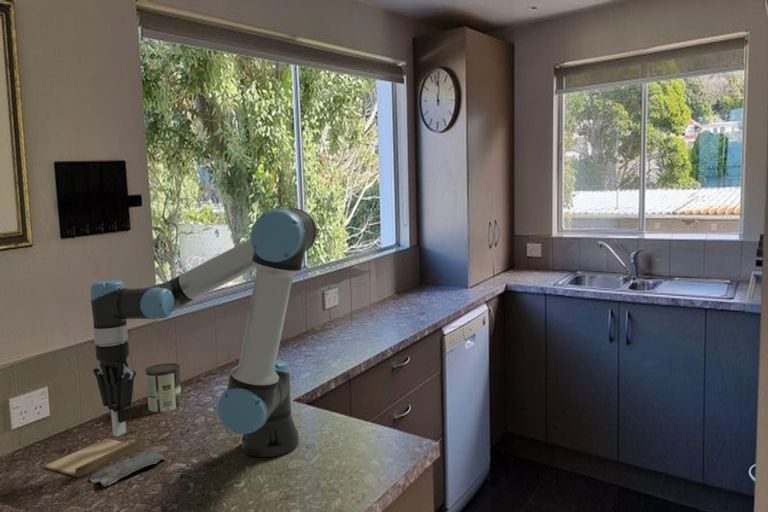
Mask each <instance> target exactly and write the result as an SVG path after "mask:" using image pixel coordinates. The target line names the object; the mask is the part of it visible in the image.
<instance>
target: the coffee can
mask: <svg viewBox="0 0 768 512" xmlns="http://www.w3.org/2000/svg"><path fill="white" fill-rule="evenodd" d="M180 366H181V365H180V364H178V363H174V362H172V363H171V362H169V363H168V362H166V363H160V364H159V363H158V364H153V365H151V366H149V367H146V368H145V370H144V371H145V372H144V373H145V378H146V393H147V407H148V411H150V412H154V413H164V412H169V411H173V410H175V409H178V408H179V407H180V406H182V402H183V401H182V389H181V373H180V372H181V370H180Z"/></svg>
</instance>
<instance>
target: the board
mask: <svg viewBox="0 0 768 512" xmlns="http://www.w3.org/2000/svg"><path fill="white" fill-rule="evenodd" d="M139 449H140V440H134V441H132V442H130V443H128V442H124V441H119V440H115V439H112V438H111V439H110V438H104V439H102V440H100V441H98V442H96V443H93V444H91V445H88V446H86V447H83V448H81V449H79V450H77V451H75V452H73V453H69V454H67V455H65V456H63V457H60V458H59V459H56V460H53V461H51V462H50V463H47V464H44V468H45V469H49V470H52V471H55V472H59V473H63V474H65V475H66V474H67V475H69V476H73V477H76V478H80V477H83V476H85V475H86V474H88V473H90V472H93V471H95V470H96V469H99V468H101V467H103V466H105V465H108V464H109V463H111V462H114V461H115V460H118V459H120V458H122V457H124V456H126V455H128V454H130V453H132V452H134V451H137V450H139Z"/></svg>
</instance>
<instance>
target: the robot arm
mask: <svg viewBox="0 0 768 512" xmlns="http://www.w3.org/2000/svg"><path fill="white" fill-rule="evenodd" d="M317 233H318V231H317V225H316V222H315V220H314V219H313V217H312V216H311V215H310V214H309V213H308V212H307V211H305V210H302V209H300V208H281V207H280V208H274V209H270V210H269V211H266V212H264V213H262V214H261V215H260V216H259V217H258V218H257V219H256V220H255V221H254V223H253V225H252V227H251V230H250V238H249V239H247V240H246V241H244V242H242V243H240V244H238V245H236V246H233V247H232V248H230V249H228V250H226V251H224V252H222V253H220V254H218V255H216V256H214V257H213V258H210V259H208V260H207V261H204V262H203V263H201V264H199V265H197V266H195V267H193V268H192V269H188V270H187V271H184V273H181V274H179V275H177V276H176V277H174V278H172V279H169V280H167V281H165V282H162V283H158V284H155V285H152V286H148V287H142V288H141V287H140V288H125V285H124V282H123V281H122V280H119V279H112V280H111V279H110V280H100V281H95V282H93V283H92V284H91V286H90V304H91V312H92V319H93V339H94V344H96V346H95V347H94V348H95V358H96V360H97V361H99V366H98V367H96V368H94V369H93V374H94V375H95V378H96V381H97V384H98V385H97V386H98V389H99V393H100V399H101V402H102V405H103V406H104V407H107V409H108V411H109V414H110V420H111V427H112V428H111V429H112V436H113V437H119V436H121V435H123V434H126V433H127V426H126V425H127V424H126V421H127V417H126V415H127V414H126V409H127V408H130V407H132V401H133V390H134V381H135V380H134V379H135V377H136V375H137V371H136V370H131V369H130V368H129V364H128V361H127V358H128V357H129V355H130V347H129V341H127V340H129V338H128V337H129V336H128V335H129V334H128V325H127V324H128V322H127V320H158V319H166V318H168V317H170V316H171V314H172V312H174V311H173V310H175V309H179V308H183V307H185V306H186V305H188V304H189V303H190V302H192V301H194V300H196V299H198V298H200V297H202V296H204V295H205V294H208V293H210V292H212V291H214V290H217V289H218V288H220V287H221V286H224V285H225V284H228V283H229V282H232V281H234V280H236V279H238V278H240V277H242V276H244V275H246V274H248V273H250V272H252V271H254V270H256V272H255V273H256V274H255V278H254V284H253V289H252V292H251V300H250V305H249V308H248V314H247V318H246V319H247V321H246V324H245V329H244V335H243V339H242V345H241V351H240V356H239V361H238V364H237V365H236V366H234V367H233V368H231V370H230V374H229V379H228V384H227V388H226V391H224V392H223V394H222V395H221V397H220V398H219V400H218V403H217V415H218V417H219V419H220V421H221V422H222V424H224V426H225V428H227V429H228V430H230V431H231V432H233V433H235V434H236V433H237V434H240V435H242V438H241V450H242V452H243V453H244V454H246V455H248V456H251V457H257V458H259V457H260V458H269V457H277V456H281V455H284V454H287V453H289V452H292V451H293V450H295V449H296V448H297V447H298V446H299V443H300V438H299V437H300V436H299V435H300V434H299V432H298V430H297V428H296V425H295V422H294V419H293V416H292V407H291V406H292V405H291V404H292V403H291V402H292V401H291V399H292V398H291V379H290V377H291V376H290V375H291V371H290V366H289V364H288V362H286V361H285V360H282V359H281V360H280V359H277V358H278V353H279V348H280V343H281V338H282V333H283V329H284V323H285V318H286V314H287V307H288V303H289V299H290V293H291V290H292V289H291V288H292V283H293V278H294V276H295V275H296V274H298V273H300V272H301V271H302V267H303V261H304V257H305V254H306V253H305V252H307V251H309V250H310V249H311V248H312V247H313V245H314V244H315V242H316V239H317Z"/></svg>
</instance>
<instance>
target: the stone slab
mask: <svg viewBox="0 0 768 512" xmlns="http://www.w3.org/2000/svg"><path fill="white" fill-rule="evenodd" d="M161 460H163V461H165V460H166V458H165V456H164V455H163V454H161V452H159V451H158V450H157V449H156V447H155V446H150V447H149V448H147V449H145V450H143V451H142V452H140V453H138V454H136V455H135V456H133V457H131V458H126V459H124V460H122V461H121V462H118V463H115V464H112V465H110V466H108V467H106V468H103V469H101V470H99V471H98V472H95V473H94V474H91V475H90V477H89V481H90V482H91V483H92V484H97V483H100V485H101V486H102V487H104V488H105V487H108V486H110V485H112V484H113V483H116V482H118V481H119V480H121V479H122V478H125V477H127V476H129V475H130V474H132V473H134V472H136V471H139V470H141V469H143V468H145V467H148V466H150V465H157V464H158V462H160V461H161Z"/></svg>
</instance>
